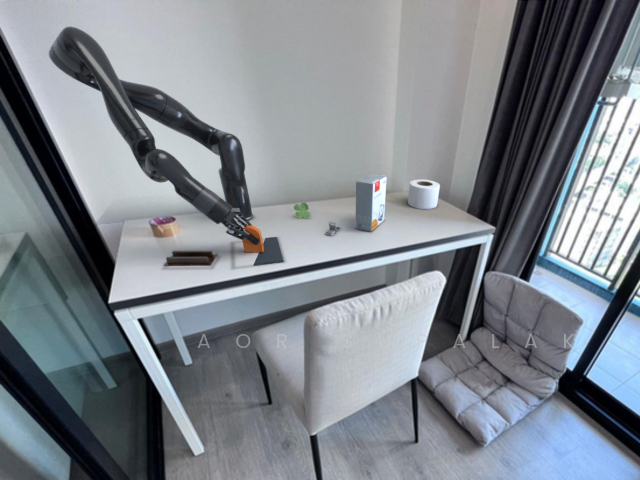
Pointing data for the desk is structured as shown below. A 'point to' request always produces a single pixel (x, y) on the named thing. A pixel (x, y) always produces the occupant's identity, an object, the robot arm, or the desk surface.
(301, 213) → the green clover
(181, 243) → the desk surface
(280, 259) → the felt mat
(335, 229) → the strap clip
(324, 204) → the desk surface
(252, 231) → the orange curved block
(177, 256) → the holder
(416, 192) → the white paper roll
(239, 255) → the desk surface
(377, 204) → the hard drive box
